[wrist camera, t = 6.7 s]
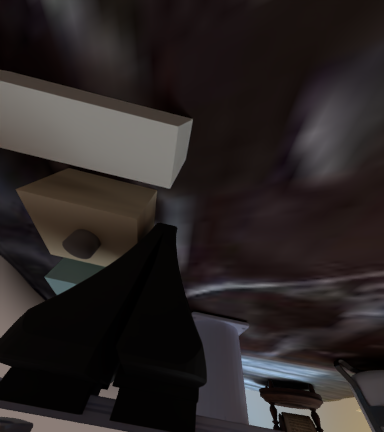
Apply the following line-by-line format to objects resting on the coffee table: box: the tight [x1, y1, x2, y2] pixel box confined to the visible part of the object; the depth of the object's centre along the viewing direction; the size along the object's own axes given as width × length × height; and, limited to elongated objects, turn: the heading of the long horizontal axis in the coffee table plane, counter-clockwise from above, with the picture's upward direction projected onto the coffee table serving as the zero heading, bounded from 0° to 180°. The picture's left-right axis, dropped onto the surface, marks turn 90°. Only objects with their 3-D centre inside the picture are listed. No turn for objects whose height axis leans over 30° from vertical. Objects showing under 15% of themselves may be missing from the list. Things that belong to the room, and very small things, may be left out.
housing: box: [16, 168, 157, 267], centre depth 10 cm, size 5×6×4 cm
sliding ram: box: [45, 257, 105, 295], centre depth 13 cm, size 3×6×4 cm, turn 78°
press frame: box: [0, 70, 193, 189], centre depth 10 cm, size 15×9×4 cm, turn 168°
